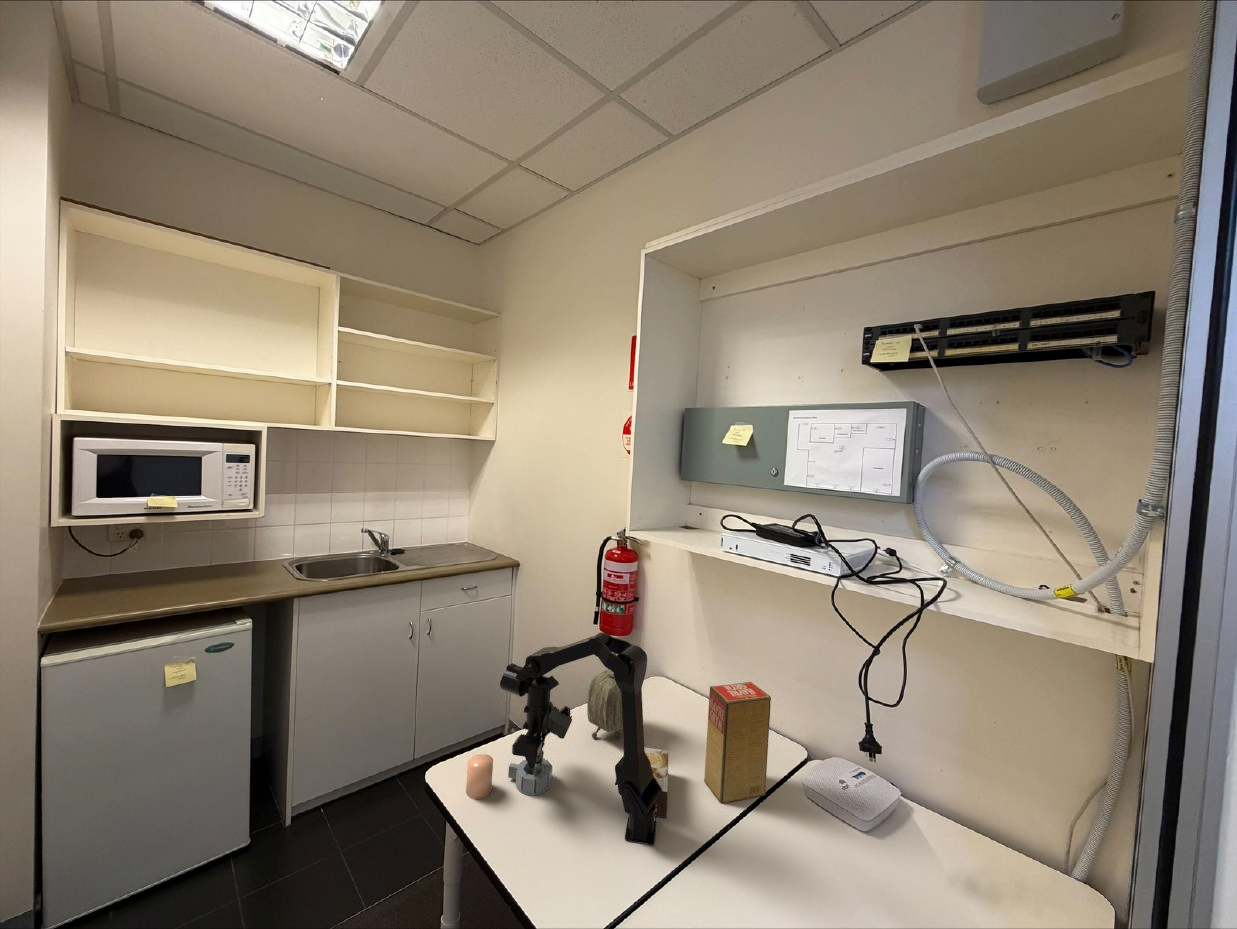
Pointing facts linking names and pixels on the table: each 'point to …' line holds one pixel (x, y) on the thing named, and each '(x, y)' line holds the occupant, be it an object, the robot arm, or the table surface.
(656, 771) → the coffee box
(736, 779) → the food packaging
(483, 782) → the peach rounded cylinder
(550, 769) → the grey octagonal base
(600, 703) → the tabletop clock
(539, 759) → the plunger
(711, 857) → the table surface
